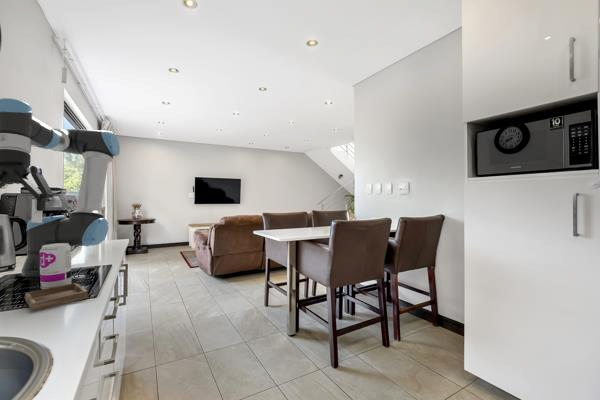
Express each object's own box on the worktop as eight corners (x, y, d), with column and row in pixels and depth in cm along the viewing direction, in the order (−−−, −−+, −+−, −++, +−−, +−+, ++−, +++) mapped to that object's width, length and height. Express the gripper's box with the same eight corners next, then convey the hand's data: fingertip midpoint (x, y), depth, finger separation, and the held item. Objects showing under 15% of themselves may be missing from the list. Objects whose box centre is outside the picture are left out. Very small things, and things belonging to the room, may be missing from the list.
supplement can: (53, 292, 91) (52, 247, 91) (34, 290, 93) (33, 246, 92) (77, 284, 99) (76, 243, 99) (59, 282, 101) (58, 242, 100)
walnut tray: (25, 300, 84) (24, 293, 84) (76, 288, 94) (76, 282, 94) (32, 311, 77) (32, 303, 76) (87, 297, 87) (87, 291, 86)
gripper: (-53, 150, 73) (-59, 228, 71) (50, 145, 77) (48, 219, 74) (-24, 158, 81) (-28, 229, 78) (69, 153, 84) (68, 221, 81)
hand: (9, 225), depth 76 cm, fingers open, 13 cm apart
